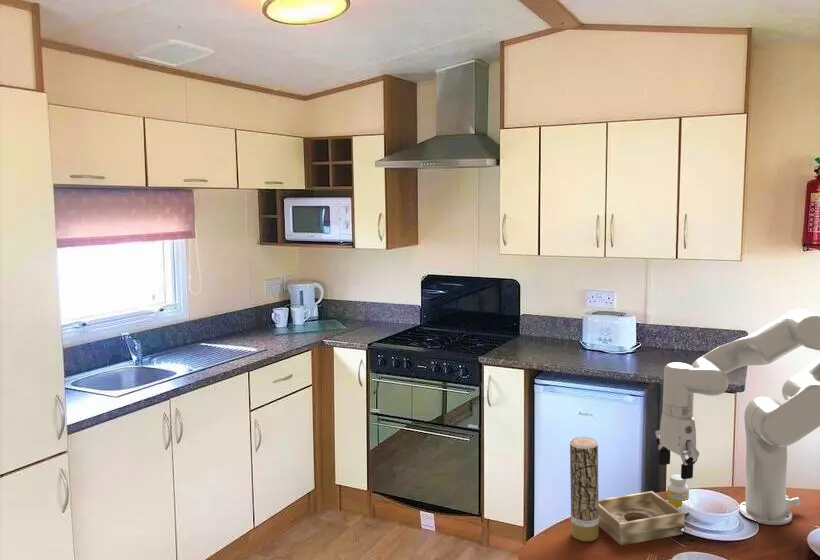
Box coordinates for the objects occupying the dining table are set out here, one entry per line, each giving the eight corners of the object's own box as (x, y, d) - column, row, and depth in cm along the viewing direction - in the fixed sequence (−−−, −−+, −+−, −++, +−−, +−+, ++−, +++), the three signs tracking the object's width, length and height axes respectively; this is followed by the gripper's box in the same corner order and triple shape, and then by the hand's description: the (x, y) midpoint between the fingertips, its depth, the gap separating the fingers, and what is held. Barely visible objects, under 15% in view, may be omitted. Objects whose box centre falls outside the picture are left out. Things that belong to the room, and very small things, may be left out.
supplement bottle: (672, 505, 190) (672, 471, 189) (692, 511, 186) (692, 476, 185) (663, 512, 186) (664, 477, 185) (683, 518, 183) (683, 482, 181)
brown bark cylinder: (599, 543, 171) (598, 447, 168) (571, 542, 173) (570, 446, 170) (597, 530, 178) (597, 437, 175) (570, 529, 179) (569, 436, 176)
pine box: (652, 510, 188) (652, 490, 187) (684, 533, 174) (684, 513, 174) (592, 520, 183) (592, 500, 183) (620, 545, 170) (620, 524, 169)
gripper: (711, 418, 176) (708, 482, 178) (670, 399, 192) (667, 457, 194) (685, 421, 174) (683, 485, 176) (646, 401, 190) (644, 460, 193)
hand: (675, 471), depth 185 cm, fingers open, 9 cm apart
